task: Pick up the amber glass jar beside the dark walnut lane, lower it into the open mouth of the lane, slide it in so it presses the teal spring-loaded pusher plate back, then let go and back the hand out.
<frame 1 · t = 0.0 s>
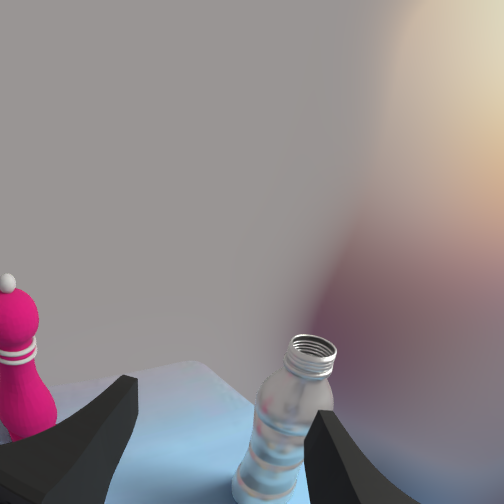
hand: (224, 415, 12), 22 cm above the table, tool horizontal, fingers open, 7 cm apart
plastic bottle: (257, 498, 27), on the table
pepper mill: (34, 437, 26), on the table
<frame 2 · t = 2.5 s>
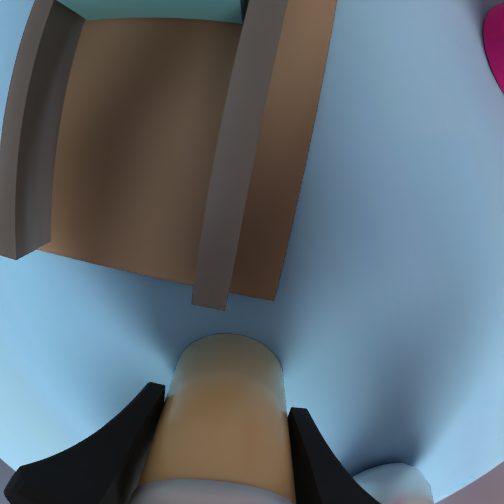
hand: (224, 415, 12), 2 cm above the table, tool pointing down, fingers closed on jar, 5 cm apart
lane: (158, 47, 10), on the table
jar: (229, 378, 14), on the table, touching gripper
plastic bottle: (374, 476, 17), on the table
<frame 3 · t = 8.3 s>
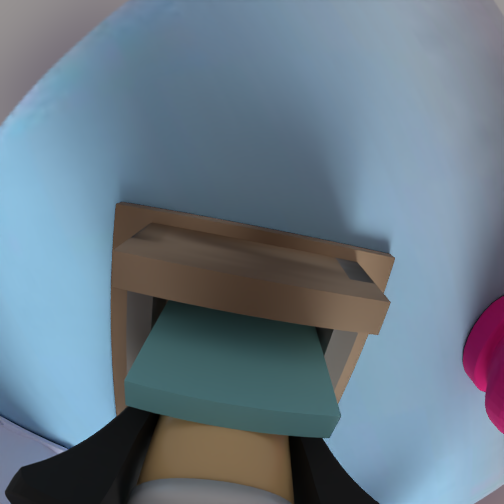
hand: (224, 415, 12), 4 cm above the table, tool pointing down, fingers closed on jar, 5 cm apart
lane: (225, 385, 16), on the table
jar: (229, 377, 14), point 2 cm above the table, touching gripper, pusher
pusher: (237, 355, 11), point 4 cm above the table, slide at 3.3 cm, touching jar
pepper mill: (498, 335, 15), on the table
when the fingers open (4 cm above the table, at t = 9.6 s): jar stays where it is, resting on lane.
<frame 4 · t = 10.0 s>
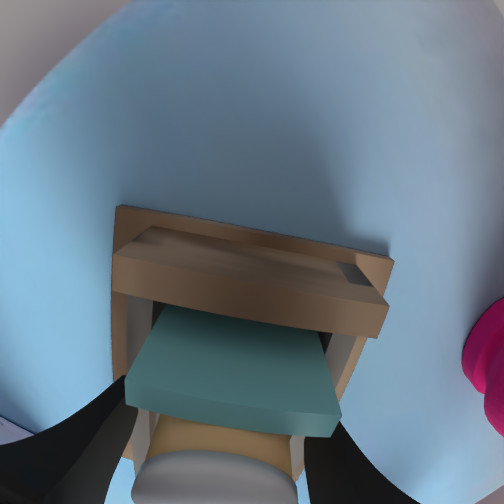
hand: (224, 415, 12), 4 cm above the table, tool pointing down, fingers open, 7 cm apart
lane: (225, 387, 16), on the table
jar: (231, 365, 15), point 1 cm above the table, touching lane
pusher: (237, 355, 11), point 4 cm above the table, slide at 3.4 cm
pepper mill: (497, 337, 15), on the table
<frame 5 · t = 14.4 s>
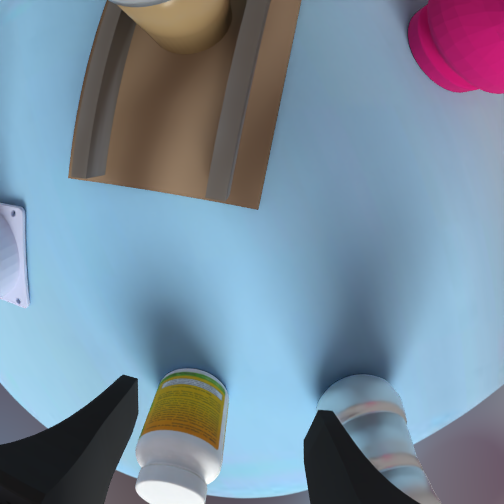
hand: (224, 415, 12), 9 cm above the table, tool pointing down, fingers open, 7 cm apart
lane: (184, 51, 16), on the table
jar: (190, 18, 15), point 1 cm above the table, touching lane
supplement bottle: (194, 391, 23), on the table
plastic bottle: (351, 393, 23), on the table
pepper mill: (445, 49, 15), on the table
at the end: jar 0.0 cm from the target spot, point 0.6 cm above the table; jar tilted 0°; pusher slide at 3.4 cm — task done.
